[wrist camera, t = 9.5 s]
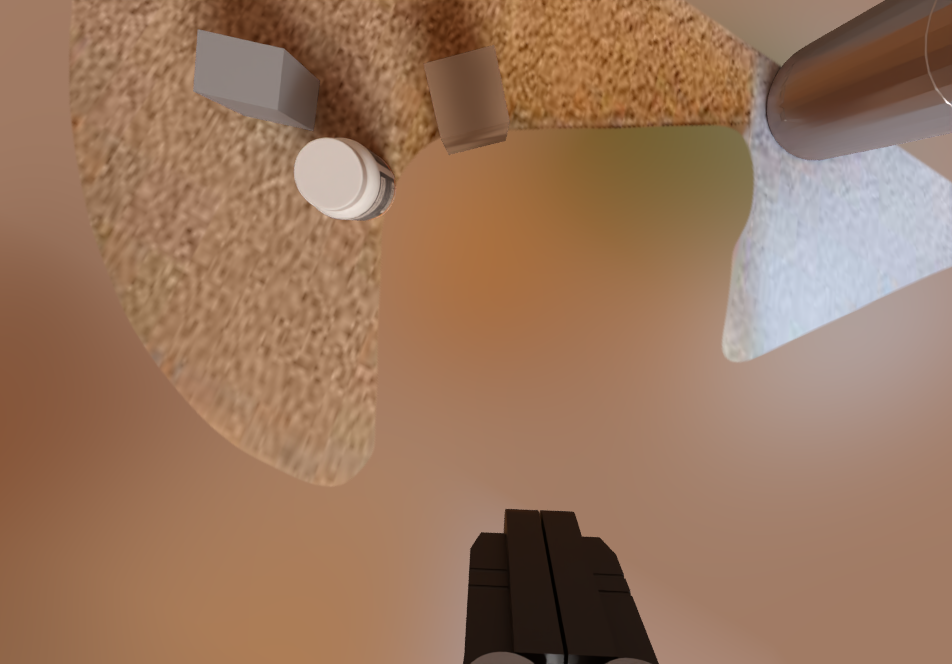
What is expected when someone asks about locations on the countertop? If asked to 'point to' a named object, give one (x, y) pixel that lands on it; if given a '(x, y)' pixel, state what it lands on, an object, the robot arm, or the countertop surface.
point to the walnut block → (468, 99)
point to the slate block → (255, 80)
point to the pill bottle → (344, 179)
